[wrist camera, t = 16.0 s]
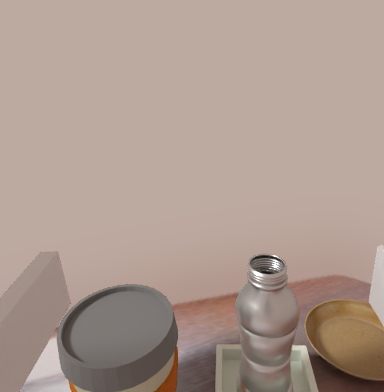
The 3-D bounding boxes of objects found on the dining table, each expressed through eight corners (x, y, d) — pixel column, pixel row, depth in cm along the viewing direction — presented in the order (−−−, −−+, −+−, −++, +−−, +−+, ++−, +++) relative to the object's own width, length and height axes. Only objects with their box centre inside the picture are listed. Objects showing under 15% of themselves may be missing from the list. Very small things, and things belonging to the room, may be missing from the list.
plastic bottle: (260, 370, 45) (261, 239, 38) (304, 406, 40) (317, 264, 33) (225, 401, 42) (218, 263, 34) (269, 445, 37) (273, 295, 29)
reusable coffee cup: (195, 377, 46) (187, 286, 40) (172, 484, 35) (155, 380, 29) (109, 365, 49) (89, 279, 43) (61, 461, 38) (26, 362, 32)
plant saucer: (308, 303, 58) (309, 290, 57) (409, 322, 53) (412, 309, 52) (297, 374, 46) (298, 360, 45) (428, 410, 40) (432, 395, 39)
